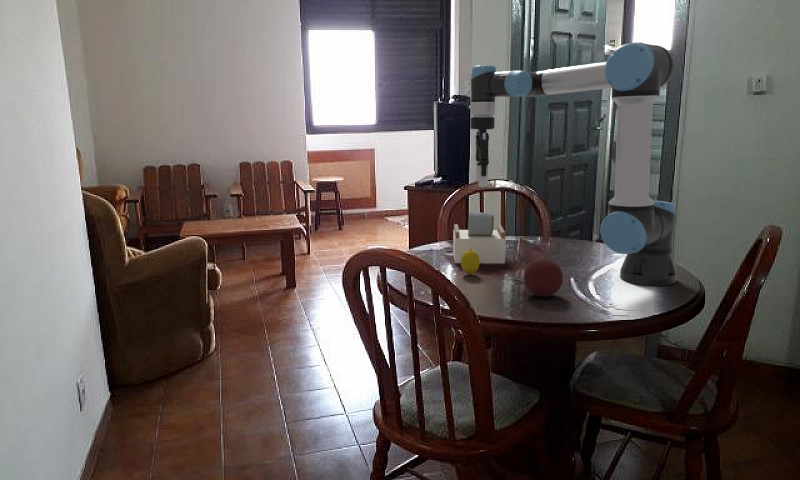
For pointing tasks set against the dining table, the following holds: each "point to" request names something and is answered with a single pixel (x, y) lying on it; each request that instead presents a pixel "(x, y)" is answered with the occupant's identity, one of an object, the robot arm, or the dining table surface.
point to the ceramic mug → (480, 223)
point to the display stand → (480, 245)
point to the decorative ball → (543, 277)
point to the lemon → (470, 261)
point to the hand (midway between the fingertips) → (481, 183)
